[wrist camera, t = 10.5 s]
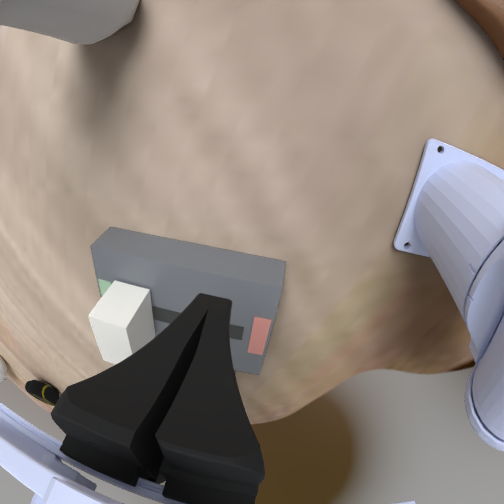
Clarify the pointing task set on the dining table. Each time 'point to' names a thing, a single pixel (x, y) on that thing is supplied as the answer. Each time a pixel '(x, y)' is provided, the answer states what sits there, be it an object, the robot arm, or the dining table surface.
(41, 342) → the dining table surface
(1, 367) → the white oval body
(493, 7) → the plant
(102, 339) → the breaker handle
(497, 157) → the dining table surface
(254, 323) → the breaker block
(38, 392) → the tape measure
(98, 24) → the salt shaker
